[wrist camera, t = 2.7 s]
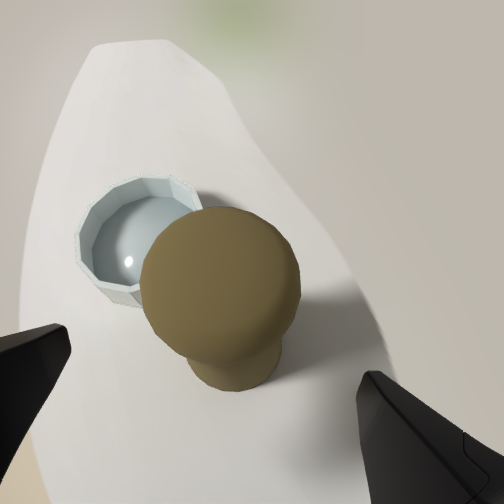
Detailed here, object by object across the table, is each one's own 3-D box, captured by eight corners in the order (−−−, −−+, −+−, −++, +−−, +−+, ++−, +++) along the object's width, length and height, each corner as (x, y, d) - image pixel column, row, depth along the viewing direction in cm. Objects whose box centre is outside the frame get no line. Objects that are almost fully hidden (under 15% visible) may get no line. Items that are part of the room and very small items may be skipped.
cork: (273, 293, 19) (298, 171, 10) (289, 384, 16) (348, 351, 7) (182, 304, 19) (122, 191, 9) (188, 395, 16) (108, 376, 6)
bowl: (144, 334, 18) (129, 321, 15) (72, 256, 20) (55, 237, 18) (234, 236, 21) (233, 213, 19) (152, 182, 24) (144, 158, 22)
